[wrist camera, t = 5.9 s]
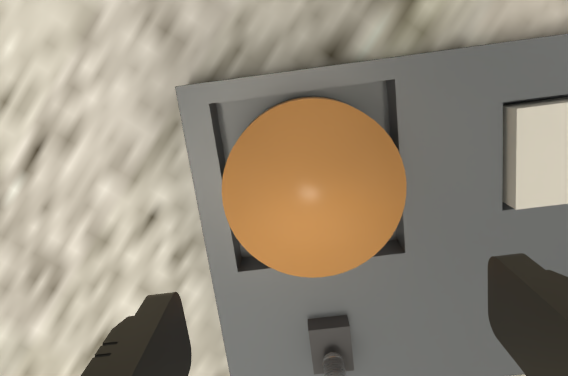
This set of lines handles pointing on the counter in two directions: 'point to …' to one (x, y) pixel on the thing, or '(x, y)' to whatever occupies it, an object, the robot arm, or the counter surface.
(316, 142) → the orange button
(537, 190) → the key
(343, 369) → the toggle lever
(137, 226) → the counter surface
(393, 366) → the control panel
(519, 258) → the robot arm
